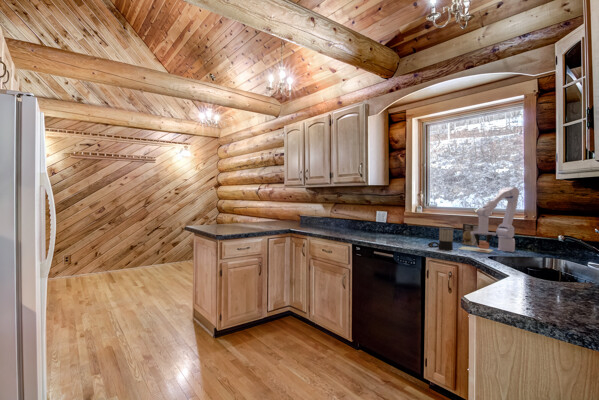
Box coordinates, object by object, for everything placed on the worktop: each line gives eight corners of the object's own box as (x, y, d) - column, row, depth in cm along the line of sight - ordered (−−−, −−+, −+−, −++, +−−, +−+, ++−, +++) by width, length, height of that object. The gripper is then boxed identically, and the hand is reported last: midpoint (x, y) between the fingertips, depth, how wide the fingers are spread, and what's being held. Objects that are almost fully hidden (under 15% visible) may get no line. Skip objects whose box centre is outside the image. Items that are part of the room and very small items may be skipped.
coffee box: (461, 244, 235) (462, 223, 235) (467, 244, 237) (468, 223, 237) (472, 246, 227) (472, 224, 226) (478, 245, 229) (479, 224, 229)
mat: (493, 250, 211) (493, 249, 211) (489, 253, 200) (489, 252, 200) (463, 246, 223) (463, 246, 223) (457, 249, 212) (457, 248, 212)
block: (488, 249, 202) (489, 243, 202) (480, 248, 204) (480, 242, 204) (484, 246, 211) (485, 241, 211) (476, 246, 212) (476, 240, 212)
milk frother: (453, 251, 206) (454, 229, 205) (428, 249, 211) (429, 227, 211) (451, 247, 219) (451, 227, 219) (427, 246, 225) (428, 226, 224)
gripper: (493, 225, 209) (493, 245, 209) (470, 224, 213) (469, 243, 213) (497, 226, 202) (496, 247, 202) (472, 225, 206) (472, 245, 206)
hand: (482, 245), depth 207 cm, fingers closed on block, 5 cm apart
